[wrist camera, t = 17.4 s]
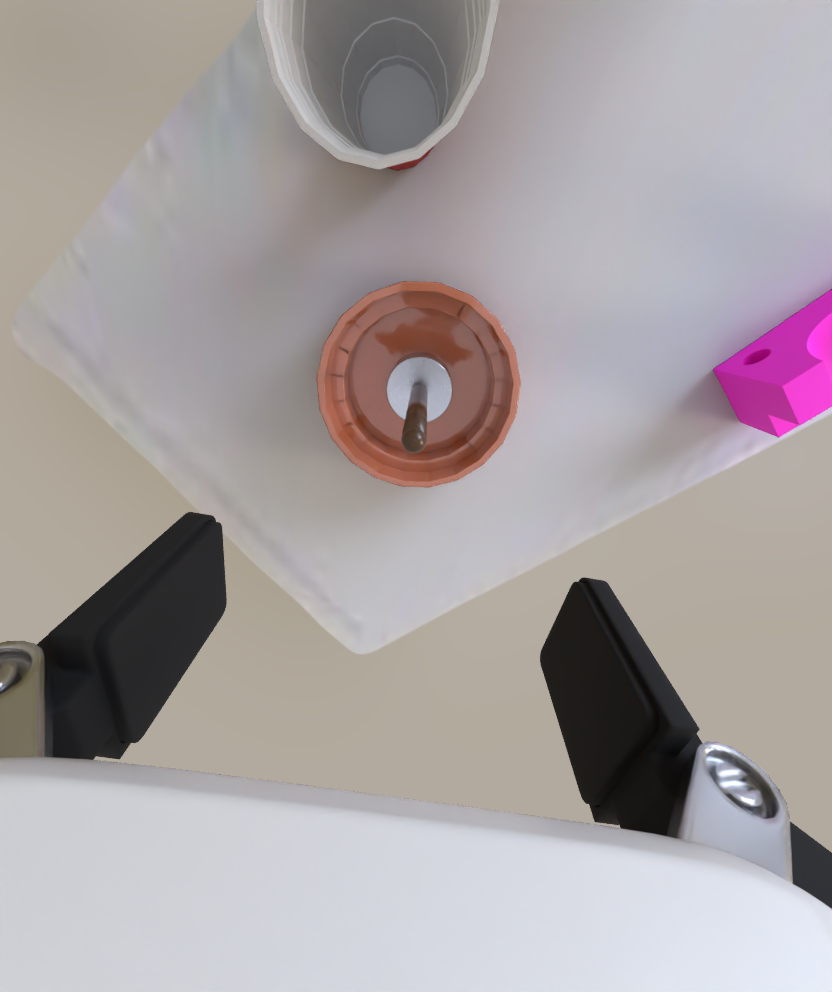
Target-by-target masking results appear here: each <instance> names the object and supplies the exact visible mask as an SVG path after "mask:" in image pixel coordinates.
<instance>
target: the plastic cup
mask: <svg viewBox="0 0 832 992" xmlns="http://www.w3.org/2000/svg"><path fill="white" fill-rule="evenodd" d="M498 8H499V0H257V2H256V17H257V21H258V25H259V29H260V33H261V37H262V41H263V45H264V49H265V52H266V56H267V60H268V64H269V68H270V72H271V76H272V80H273V82H274V84H275V85H276V87H277V89H278V90H279V92H280V94H281V96H282V97H283V99H284V101H285V102H286V104H287V106H288V108H289V109H290V111H291V113H292V114H293V116H294V118H295V119H296V121H297V123H298V125H299V126H300V128H301V130H303V131H304V132H305V133H306V134H308V135H309V136H310V137H311V138H312V139H314V140H315V141H316V142H317V143H318V144H320V145H321V146H322V147H323V148H324V149H326V150H327V151H328V152H329V153H330V154H332V155H333V156H334V157H335V158H337V159H338V160H341V161H345V162H350V163H354V164H358V165H362V166H366V167H370V168H374V169H378V170H379V169H383V168H390V169H393V170H397V171H399V170H403V169H407V168H411V167H414V166H415V165H417V164H418V163H419V162H420V161H421V160H423V159H424V158H425V157H426V156H427V155H428V154H429V152H430V151H431V150H432V149H433V147H434V145H435V144H436V143H438V142H439V141H440V140H441V139H442V138H443V137H444V136H446V135H447V134H448V133H449V132H450V131H451V130H453V129H454V128H455V127H456V126H457V124H458V122H459V120H460V118H461V116H462V115H463V113H464V111H465V109H466V107H467V105H468V104H469V102H470V100H471V98H472V96H473V94H474V93H475V91H476V89H477V87H478V85H479V83H480V81H481V80H482V78H483V76H484V74H485V70H486V65H487V60H488V55H489V51H490V46H491V41H492V37H493V32H494V27H495V23H496V18H497V13H498Z"/></svg>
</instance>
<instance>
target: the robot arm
mask: <svg viewBox="0 0 832 992" xmlns="http://www.w3.org/2000/svg"><path fill="white" fill-rule="evenodd" d="M225 608H226V584H225V568H224V553H223V535H222V525H221V523H219V522H216V519H215V518H214V516H211V515H205V514H199V513H193V512H188V513H186V514H185V515H184V516H183V517H182V518H181V519H179V520H178V521H177V522H176V523H175V524H173V525H172V526H171V527H170V528H169V529H168V530H167V531H165V532H164V533H163V534H162V535H161V536H160V537H159V538H158V539H156V540H155V541H154V542H153V543H152V544H151V545H149V546H148V547H147V548H146V549H145V550H144V551H143V552H141V553H140V554H139V555H138V556H137V557H136V558H135V559H134V560H132V561H131V562H130V563H129V564H128V565H127V566H126V567H124V568H123V569H122V570H121V571H120V572H119V573H117V574H116V575H115V576H114V577H113V578H112V579H111V580H109V581H108V582H107V583H106V584H105V585H104V586H103V587H101V588H100V589H99V590H98V591H97V592H96V593H95V594H93V595H92V596H91V597H90V598H89V599H88V600H87V601H86V602H84V603H83V604H82V605H81V606H80V607H79V608H77V609H76V610H75V611H74V612H73V613H72V614H71V615H69V616H68V617H67V618H66V619H65V620H64V621H63V622H62V623H60V624H59V625H58V626H57V627H56V628H55V629H53V630H52V631H51V632H50V633H49V635H47V636H46V637H45V638H44V639H43V640H42V641H40V642H39V643H38V644H37V645H36V644H34V643H30V642H25V641H7V642H2V643H0V992H832V853H831V852H830V851H829V850H827V849H826V848H824V847H823V846H822V845H821V844H819V843H818V842H817V841H815V840H814V839H813V838H811V837H810V836H808V835H807V834H806V833H805V832H803V831H802V830H801V829H799V828H798V827H797V826H795V825H794V824H792V823H791V822H790V816H789V811H788V807H787V803H786V801H785V800H784V798H783V796H782V794H781V792H780V790H779V789H778V788H777V786H776V785H775V784H774V782H772V780H771V779H770V777H768V775H767V774H766V773H765V772H764V771H763V770H762V769H761V768H760V767H759V766H758V765H757V764H755V763H754V762H753V761H751V760H750V759H749V758H747V757H746V756H745V755H744V754H742V753H740V752H739V751H737V750H735V749H733V748H731V747H730V746H727V745H724V744H721V743H718V742H705V743H702V742H701V740H700V739H699V737H698V735H697V734H696V733H697V732H698V731H699V728H698V726H697V724H696V723H695V721H694V720H693V718H692V716H691V715H690V713H689V712H688V710H687V709H686V707H685V705H684V704H683V702H682V701H681V699H680V697H679V696H678V694H677V693H676V691H675V689H674V688H673V686H672V685H671V683H670V681H669V680H668V678H667V677H666V675H665V674H664V672H663V670H662V669H661V667H660V666H659V664H658V662H657V661H656V659H655V658H654V656H653V654H652V653H651V651H650V650H649V648H648V647H647V645H646V644H645V642H644V640H643V639H642V637H641V635H640V634H639V633H638V631H637V629H636V627H635V626H634V624H633V623H632V621H631V620H630V618H629V616H628V615H627V613H626V612H625V610H624V608H623V607H622V605H621V604H620V602H619V600H618V599H617V598H616V596H615V594H614V593H613V591H612V589H611V588H610V586H609V585H608V583H607V582H605V581H602V580H596V579H590V578H581V579H580V580H579V582H574V583H573V584H572V586H571V588H570V590H569V592H568V594H567V596H566V599H565V601H564V603H563V605H562V607H561V609H560V611H559V613H558V616H557V618H556V620H555V622H554V624H553V627H552V629H551V631H550V633H549V635H548V637H547V639H546V641H545V644H544V646H543V648H542V650H541V654H540V663H541V667H542V670H543V673H544V676H545V680H546V683H547V686H548V690H549V693H550V696H551V699H552V703H553V706H554V709H555V712H556V716H557V719H558V722H559V726H560V729H561V732H562V735H563V739H564V742H565V745H566V748H567V752H568V755H569V758H570V762H571V765H572V768H573V771H574V775H575V778H576V781H577V785H578V788H579V791H580V794H581V797H582V799H583V800H584V802H585V803H586V804H589V805H590V808H591V811H592V814H593V818H594V821H595V822H599V823H607V824H614V825H620V827H621V828H614V827H608V826H602V825H596V824H589V823H583V822H576V821H569V820H562V819H554V818H547V817H540V816H532V815H525V814H518V813H511V812H503V811H496V810H489V809H481V808H474V807H467V806H459V805H452V804H445V803H437V802H430V801H422V800H415V799H407V798H399V797H392V796H384V795H377V794H369V793H362V792H354V791H346V790H338V789H331V788H323V787H316V786H308V785H300V784H292V783H284V782H276V781H269V780H261V779H253V778H244V777H237V776H229V775H221V774H213V773H205V772H197V771H189V770H181V769H173V768H163V767H154V766H145V765H135V764H126V763H117V762H107V761H98V760H93V759H94V758H95V757H96V756H99V757H106V758H114V759H120V758H121V756H122V755H123V754H124V752H125V751H126V749H127V748H128V746H129V745H130V743H136V742H138V741H139V740H140V739H141V738H142V737H143V736H144V734H145V733H146V731H147V729H148V728H149V726H150V725H151V723H152V722H153V720H154V719H155V717H156V716H157V714H158V713H159V711H160V710H161V708H162V706H163V705H164V704H165V702H166V701H167V699H168V698H169V696H170V695H171V693H172V692H173V690H174V688H175V687H176V686H177V684H178V682H179V681H180V679H181V678H182V676H183V675H184V673H185V672H186V670H187V669H188V667H189V666H190V664H191V663H192V661H193V659H194V658H195V657H196V655H197V653H198V652H199V650H200V649H201V647H202V646H203V644H204V643H205V641H206V640H207V638H208V637H209V635H210V634H211V632H212V631H213V629H214V627H215V626H216V625H217V623H218V621H219V620H220V619H221V617H222V615H223V613H224V611H225Z"/></svg>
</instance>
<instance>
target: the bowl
mask: <svg viewBox="0 0 832 992" xmlns="http://www.w3.org/2000/svg"><path fill="white" fill-rule="evenodd" d="M420 352H422V353H428V354H431V355H433V356H435V357H437V358H438V359H439V360H441V361H442V362H443V363H444V365H445V366H446V368H447V370H448V372H449V374H450V378H451V382H452V388H453V389H452V398H451V402H450V404H449V406H448V408H447V409H446V411H445V412H444V413H443V414H442V415H441V416H440V417H438V418H437V419H435V420H433V421H431V422H428V423H427V442H426V445H425V447H424V449H423V450H422V451H420V452H418V453H410V452H408V451H406V450H405V449H404V448H403V446H402V443H401V437H402V432H403V427H404V422H405V420H404V419H402V418H400V417H399V416H398V415H397V414H396V413H395V412H394V411H393V410H392V408H391V406H390V404H389V402H388V399H387V394H386V386H387V381H388V378H389V376H390V374H391V372H392V370H393V368H394V366H395V365H396V364H397V363H398V361H399V360H401V359H402V358H403V357H405V356H407V355H409V354H412V353H420ZM520 385H521V383H520V376H519V370H518V365H517V359H516V353H515V349H514V347H513V345H512V343H511V342H510V340H509V338H508V336H507V334H506V333H505V331H504V329H503V327H502V325H501V323H500V322H499V320H498V319H497V318H496V317H495V316H494V315H493V314H492V313H491V312H490V311H488V310H487V309H486V308H485V307H484V306H483V305H482V304H481V303H480V302H478V301H477V300H476V299H475V298H474V297H473V296H471V295H469V294H467V293H464V292H462V291H459V290H457V289H454V288H452V287H449V286H447V285H444V284H442V283H438V282H406V281H403V282H399V283H396V284H394V285H391V286H388V287H385V288H382V289H379V290H376V291H374V292H371V293H369V294H367V295H366V296H365V297H363V298H362V299H361V300H360V301H359V302H357V303H356V304H355V305H354V306H352V307H351V308H350V309H349V310H348V311H346V312H345V313H344V314H343V315H342V316H341V317H340V319H339V321H338V322H337V324H336V326H335V327H334V329H333V331H332V332H331V334H330V335H329V337H328V339H327V340H326V342H325V344H324V346H323V351H322V355H321V360H320V364H319V369H318V373H317V387H318V397H319V408H320V412H321V414H322V416H323V419H324V421H325V424H326V426H327V428H328V431H329V433H330V436H331V438H332V439H333V440H334V442H335V443H336V444H337V445H338V446H339V448H340V449H341V450H342V451H343V453H344V454H345V455H346V456H347V457H348V459H349V460H350V461H351V462H352V463H354V464H355V465H357V466H358V467H360V468H361V469H363V470H364V471H366V472H367V473H369V474H370V475H371V476H373V477H375V478H377V479H381V480H384V481H387V482H390V483H393V484H396V485H399V486H407V487H433V486H437V485H440V484H444V483H448V482H452V481H456V480H459V479H460V478H462V477H464V476H465V475H467V474H469V473H470V472H472V471H474V470H475V469H477V468H479V467H480V466H482V465H483V464H484V463H485V462H486V461H487V460H488V459H489V458H490V456H491V455H492V454H493V453H494V452H495V451H496V450H497V449H498V448H499V447H500V446H501V444H502V443H503V442H504V440H505V437H506V435H507V433H508V431H509V429H510V427H511V425H512V423H513V421H514V418H515V416H516V413H517V406H518V399H519V392H520Z"/></svg>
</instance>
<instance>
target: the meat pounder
mask: <svg viewBox="0 0 832 992" xmlns="http://www.w3.org/2000/svg"><path fill="white" fill-rule="evenodd" d="M452 389H453V388H452V382H451V378H450V374H449V372H448V370H447V368H446V366H445V365H444V363H443V362H442V361H441V360H439V359H438V358H437V357H435V356H433V355H431V354H428V353H422V352H420V353H412V354H409V355H407V356H405V357H403V358H402V359H401V360H399V361H398V363H397V364H396V365H395V366H394V368H393V370H392V372H391V374H390V376H389V378H388V381H387V386H386V394H387V399H388V402H389V404H390V406H391V408H392V410H393V411H394V412H395V413H396V414H397V415H398V416H399V417H400V418H402V419H404V420H405V422H404V427H403V432H402V437H401V443H402V446H403V448H404V449H405V450H406V451H408V452H410V453H418V452H420V451H422V450H423V449H424V447H425V445H426V442H427V423H428V422H431V421H433V420H435V419H437V418H438V417H440V416H441V415H442V414H443V413H444V412H445V411H446V409H447V408H448V406H449V404H450V402H451V398H452Z"/></svg>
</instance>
